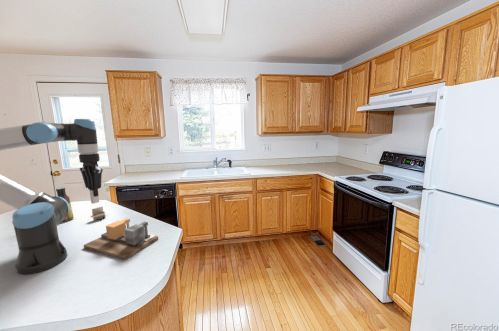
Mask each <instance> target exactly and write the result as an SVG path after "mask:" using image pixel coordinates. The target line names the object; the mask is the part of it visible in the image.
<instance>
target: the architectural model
mask: <svg viewBox="0 0 499 331" xmlns="http://www.w3.org/2000/svg"><path fill="white" fill-rule="evenodd" d="M91 213H92V215H90V218H92V219H93V221H96V220H97V221H98V220H100V219H101V220H103V219H106V212H105V211H104V207H103V206H100V207H95V208H91ZM103 217H104V218H103Z"/></svg>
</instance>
